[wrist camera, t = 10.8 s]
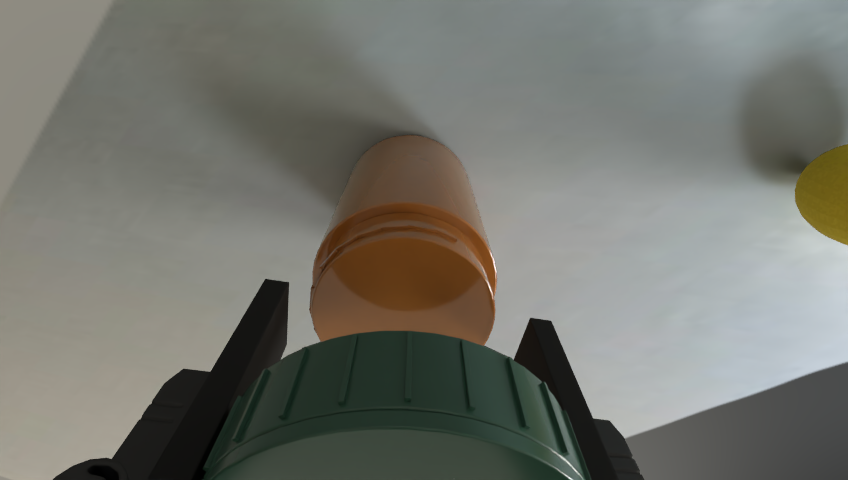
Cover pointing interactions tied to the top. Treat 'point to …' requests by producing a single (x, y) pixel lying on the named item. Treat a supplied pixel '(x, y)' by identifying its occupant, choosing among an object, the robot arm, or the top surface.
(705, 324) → the top surface
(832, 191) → the lemon
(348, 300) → the jam jar
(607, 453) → the robot arm
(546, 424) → the jar lid
